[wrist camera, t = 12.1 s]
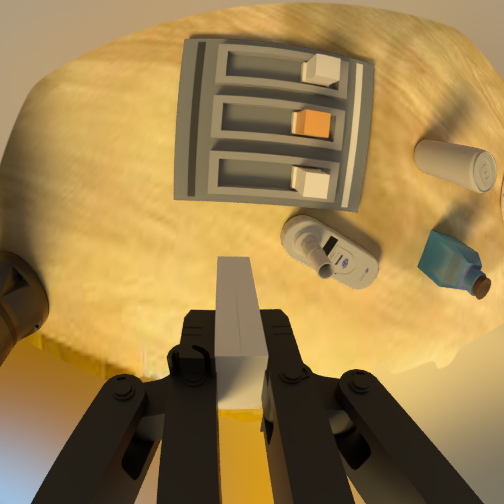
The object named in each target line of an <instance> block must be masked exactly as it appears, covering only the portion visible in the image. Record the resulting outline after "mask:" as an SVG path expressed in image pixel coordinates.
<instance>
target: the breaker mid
mask: <svg viewBox="0 0 504 504" xmlns="http://www.w3.org/2000/svg"><path fill="white" fill-rule="evenodd" d="M330 117H331V114H330V113H325V112H319V111H313V110H307V109H306V110H303V111H300V112H293V113H292V119H291V130H290V134H298V135H305V136H312V137H326V138H328V137H329V127H330Z"/></svg>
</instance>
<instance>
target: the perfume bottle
mask: <svg viewBox="0 0 504 504" xmlns="http://www.w3.org/2000/svg"><path fill="white" fill-rule="evenodd" d="M417 267H418V268H419V269H420V270H421V271H423V272H424V273H425V274H426V275H427V276H428V277H429V278H430V279H431V280H433V281H434V282H435V283H436V284H437V285H438V286H439V287H446V288H453V289H461V290H467V291H468V292H469V293H470V294H471V295H472V296H476V298H477V299H482V298H483V297H485V296H486V294H487V293H488V291H489V289H490V286H491V280H490V279H489V278H486V275H485V274H484V273H483V272H482V271H480V270H481V267H482V264H481V261H480V258H479V254H478V253H477V252H476V251H474V250H473V249H471V248H470V247H468V246H467V245H465V244H464V243H462V242H461V241H459V240H458V239H456V238H454V237H451V236H448V235H445V234H441V233H438V232H435V231H432V230H431V232H430V235H429V238H428V240H427V243H426V246H425V249H424V251H423V254H422V256H421V259H420V261H419V264H418V266H417Z"/></svg>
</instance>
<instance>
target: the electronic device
mask: <svg viewBox="0 0 504 504" xmlns="http://www.w3.org/2000/svg"><path fill="white" fill-rule="evenodd" d="M280 237H281V243H282V245H283V247H284V249H285V251H286V253H287V254H288V255H289V256H290V257H291V258H293V259H294V260H296V261H298V262H300V263H302V264H304V265H306V266H308V267H310V268H312V269H314V270H315V271H316V273H317V274H318V276H319V277H320V278H322V279H328V278H332V279H334V280H336V281H338V282H340V283H342V284H344V285H346V286H348V287H350V288H352V289H363V288H366V287H368V286H369V285H370V284H372V282H373V281H374V280H375V279H376V277H377V275H378V272H379V264H378V261H377V259H376V258H375V257H374V256H373V255H372V254H371V253H370V252H368V251H367V250H365V249H364V248H362V247H361V246H359V245H357V244H356V243H354V242H353V241H351V240H349V239H348V238H346V237H345V236H343V235H341V234H340V233H338V232H336V231H335V230H333V229H331V228H330V227H328V226H326V225H325V224H323V223H321V222H320V221H318V220H316V219H315V218H313V217H310V216H308V215H298V216H295V217H293V218H291V219H290V220H289V221H288V222H286V223H285V225H284V227H283V228H282V231H281V236H280Z"/></svg>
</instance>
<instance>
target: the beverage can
mask: <svg viewBox="0 0 504 504" xmlns="http://www.w3.org/2000/svg"><path fill="white" fill-rule="evenodd" d="M414 161H415V164H416V166H417V167H418V169H419V170H421V171H422V172H423V173H426V174H429V175H432V176H435V177H438V178H441V179H444V180H447V181H450V182H452V183H455V184H458V185H460V186H463V187H465V188H468V189H470V190H473V191H475V192H479V193H488V192H489V191H490V190H491V189H492V188H493V186H494V184H495V181H496V176H497V167H496V162H495V159H494V157H493V156H492V155H491V154H490V153H489V152H486V151H485V150H482V149H478V148H474V147H469V146H464V145H458V144H453V143H447V142H441V141H434V140H427V139H426V140H422V141H420V142H419V143H418V144H417V146H416V148H415V151H414Z"/></svg>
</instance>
